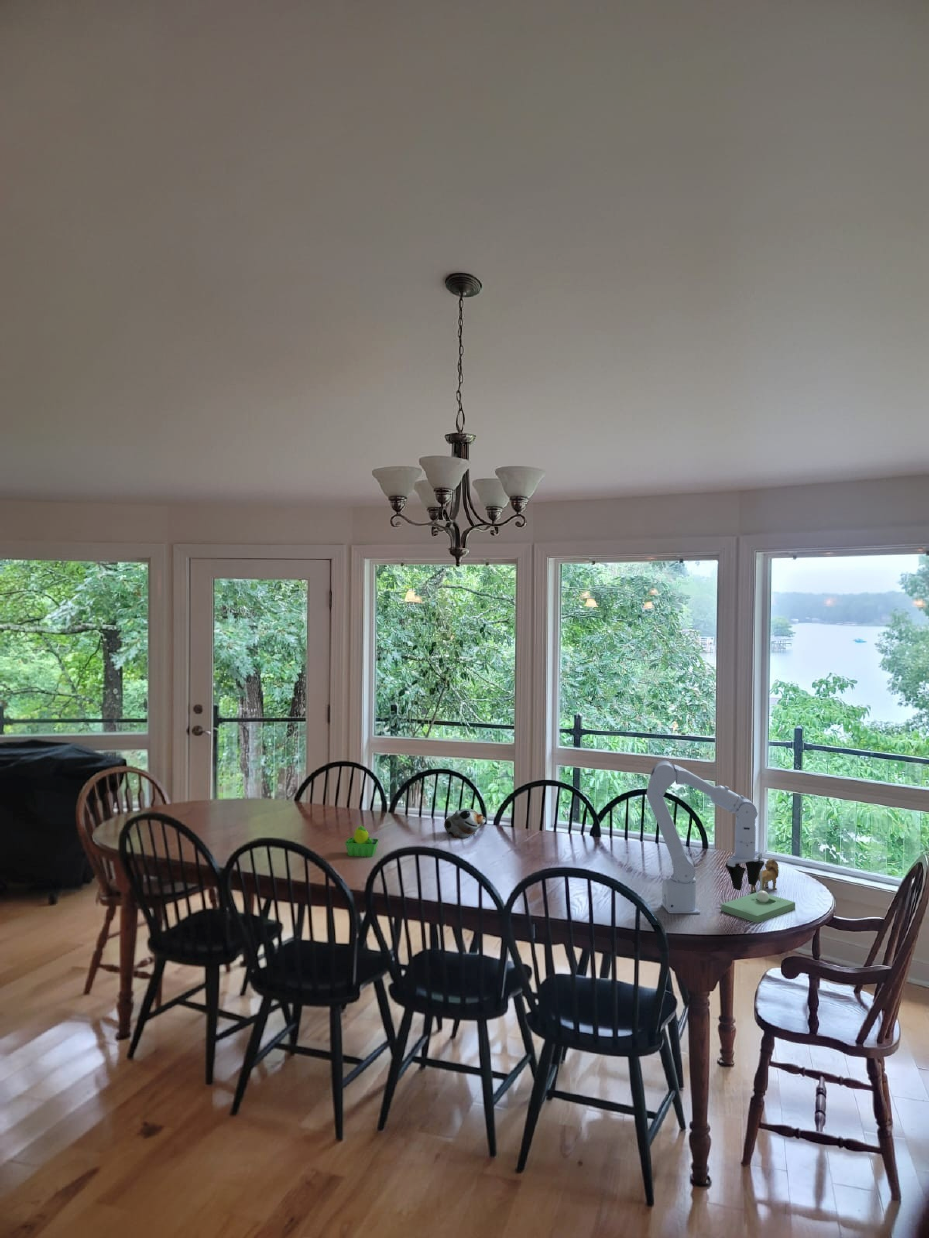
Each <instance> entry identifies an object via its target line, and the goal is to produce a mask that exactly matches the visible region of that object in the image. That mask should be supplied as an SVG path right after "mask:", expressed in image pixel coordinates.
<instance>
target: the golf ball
mask: <svg viewBox="0 0 929 1238" xmlns="http://www.w3.org/2000/svg"><path fill="white" fill-rule="evenodd" d="M766 891H767V890H765V891H763V890H762V891H760V890H759V891H757V892H758V893H757V899H758V900H759V901H760V902H762V903H765V902H767V901H768V900H769V895H768V894H769V893H768V891H767V892H766Z"/></svg>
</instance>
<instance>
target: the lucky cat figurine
mask: <svg viewBox="0 0 929 1238" xmlns="http://www.w3.org/2000/svg"><path fill="white" fill-rule="evenodd" d="M486 821H487V818H486V817H485V816H484V815H483V814H482V813H478V812H477V811H476V810H475V809H472V808H462V809H459V810H458V809H456V810H455V812H454V813H453V814H452V815H451V816H448V817H447V818H446V819H445V820H444V822H443V826H444V830H445V831H446V833H447V834H448V835H451V836H452V838H454V839H467V838H468V837H471V836H473V834H475V833H477V830H479V829H480V828H481V827H482V826H483V825H484V824H485V823H486Z"/></svg>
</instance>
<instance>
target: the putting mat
mask: <svg viewBox="0 0 929 1238" xmlns="http://www.w3.org/2000/svg"><path fill="white" fill-rule="evenodd" d="M765 876H767V869H766V868H765V869H763V870H761V871H760V882H759V891H762V877H765ZM759 891H756V893H754V892H752V893H750V894H747V895H745V896H744V895H743V896H742V897H741V896H740V897H738V898H735V899H732V900H729V901H726V902H723V903H721V905H720V910H721V912H724V913H727V914H730V915H733V916H736V917H739V918H742V919H745V920H746V921H747V920H748V921H751V922H753V923H757V924H758V923H761V922H764V921H766V920H769V919H772V918H775V917H777V916H781V915H783V914H785V913H788V912H791V911H794V910H796V902H795V901H792V900H789V899H785V898H782V897H779V896H777V895H776V896H775V895H772V894H769V893H768V895H769V900H768V901H767V902H765V903H762V902H760V901H759V900H758V899H757V893H758V892H759Z"/></svg>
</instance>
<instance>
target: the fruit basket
mask: <svg viewBox="0 0 929 1238" xmlns="http://www.w3.org/2000/svg"><path fill="white" fill-rule="evenodd" d="M344 843H345V846H346V847H345V848H346V851H347V856H348V857H363V856H364V857H365V858H366V856H367V857H368V858H373V856H374V855H375V854H374V853H376V851H377V848H378V843H379V838H371V837H369V832H368V831H367V829H366V828H365V827H364V826H363V825H359V826H358V827H356V829H355V831H354V834H353V837H349V838H348V839H346V841H344Z"/></svg>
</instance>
